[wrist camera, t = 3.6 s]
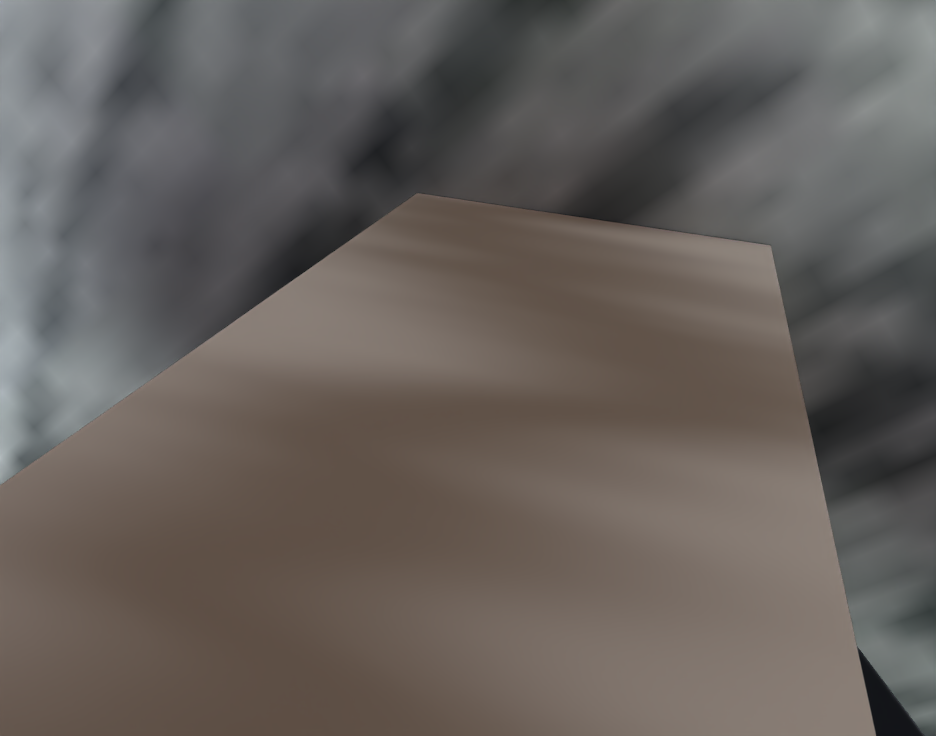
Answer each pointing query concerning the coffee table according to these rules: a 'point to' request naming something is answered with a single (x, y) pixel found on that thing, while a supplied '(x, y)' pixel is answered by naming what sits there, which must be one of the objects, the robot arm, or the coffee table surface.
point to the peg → (447, 506)
